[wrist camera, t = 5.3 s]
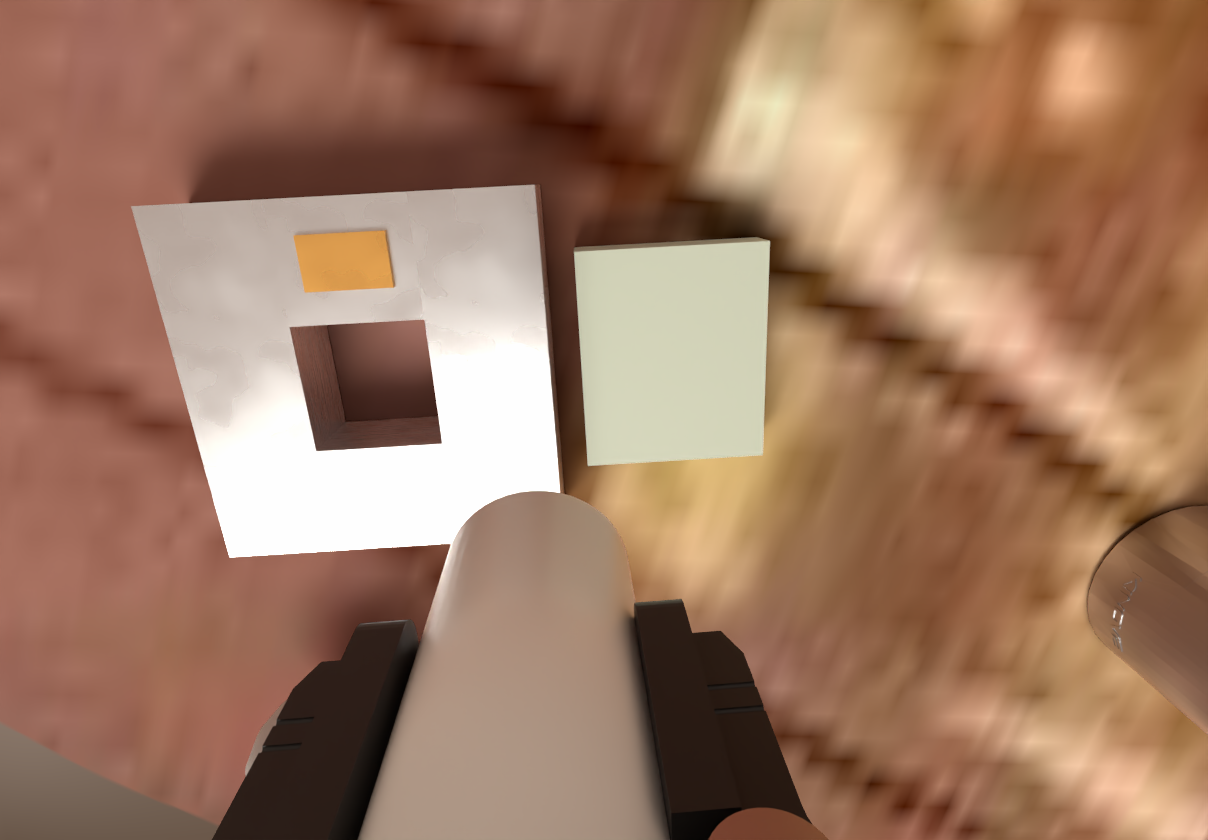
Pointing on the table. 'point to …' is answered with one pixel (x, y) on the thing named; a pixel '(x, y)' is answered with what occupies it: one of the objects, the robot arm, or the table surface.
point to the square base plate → (673, 349)
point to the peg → (525, 690)
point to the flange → (307, 372)
